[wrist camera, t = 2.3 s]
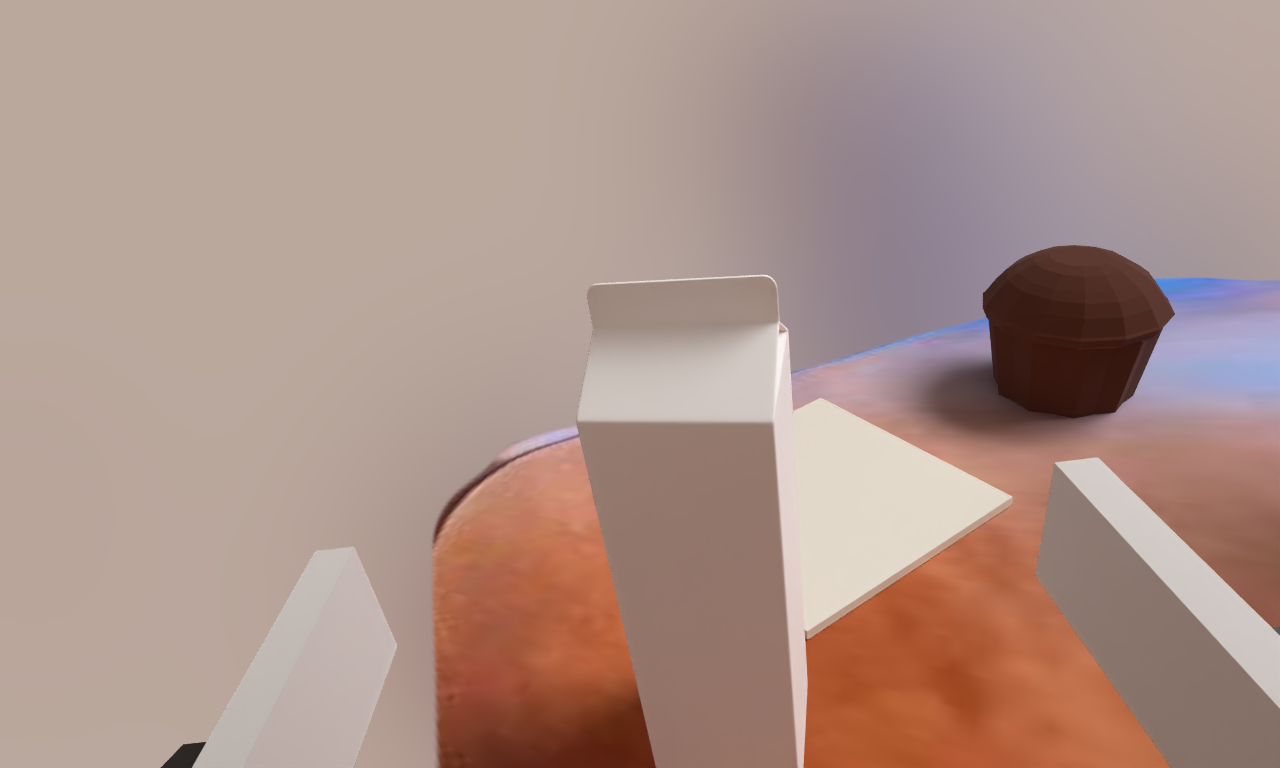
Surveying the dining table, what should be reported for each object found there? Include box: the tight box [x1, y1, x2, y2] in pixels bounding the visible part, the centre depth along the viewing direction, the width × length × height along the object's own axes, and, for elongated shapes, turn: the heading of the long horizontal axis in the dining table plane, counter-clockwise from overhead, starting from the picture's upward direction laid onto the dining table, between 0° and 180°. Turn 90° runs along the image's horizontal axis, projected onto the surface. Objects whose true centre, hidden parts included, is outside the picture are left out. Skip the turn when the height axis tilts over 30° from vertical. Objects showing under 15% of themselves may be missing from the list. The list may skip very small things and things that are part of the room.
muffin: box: [983, 245, 1175, 418], centre depth 50 cm, size 12×11×10 cm
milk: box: [576, 275, 807, 768], centre depth 27 cm, size 6×6×22 cm
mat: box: [793, 398, 1013, 640], centre depth 45 cm, size 16×16×1 cm
